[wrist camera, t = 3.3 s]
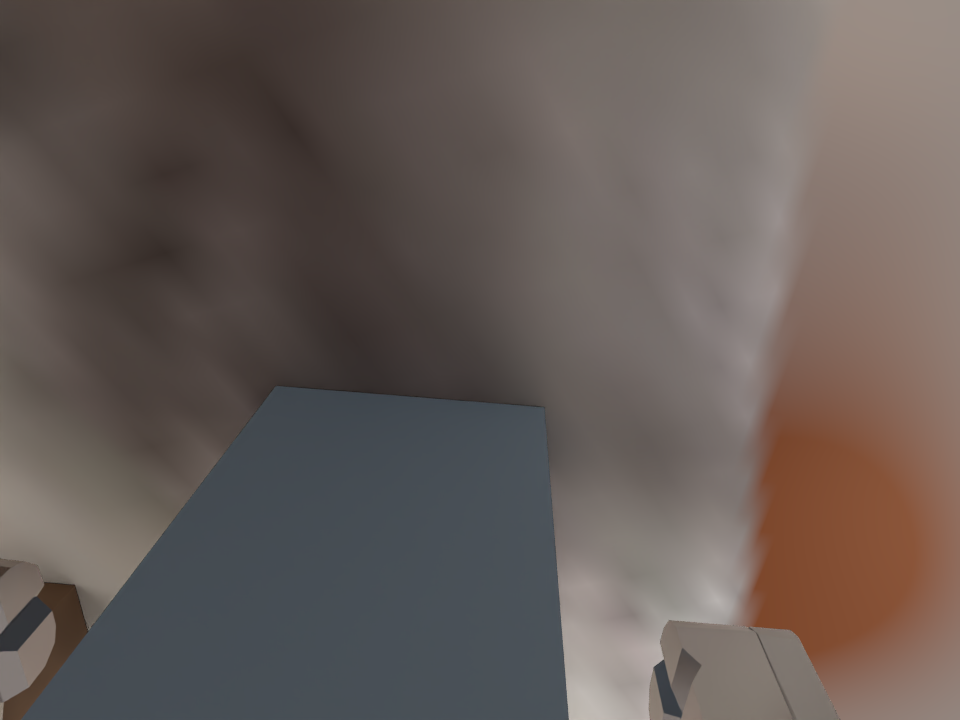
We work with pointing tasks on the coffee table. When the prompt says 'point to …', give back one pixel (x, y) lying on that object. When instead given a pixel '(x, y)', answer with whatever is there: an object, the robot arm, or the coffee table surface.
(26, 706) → the domino
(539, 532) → the domino
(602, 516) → the coffee table surface
